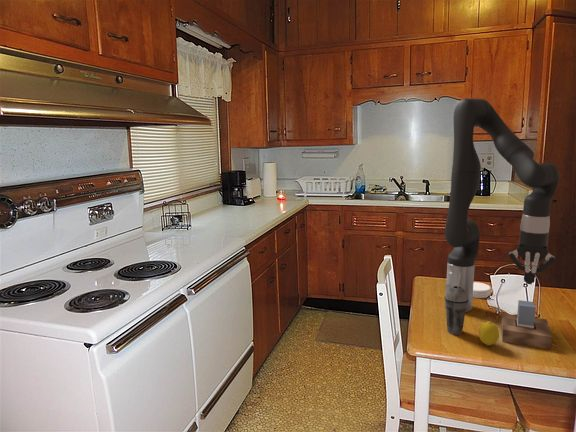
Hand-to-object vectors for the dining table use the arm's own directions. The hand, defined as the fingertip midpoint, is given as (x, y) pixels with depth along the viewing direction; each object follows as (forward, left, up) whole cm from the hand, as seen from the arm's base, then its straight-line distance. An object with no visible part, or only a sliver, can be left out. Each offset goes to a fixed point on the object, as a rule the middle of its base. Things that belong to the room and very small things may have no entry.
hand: (528, 283), depth 131 cm
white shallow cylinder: (-14, +33, -18) cm, 40 cm away
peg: (0, 0, -18) cm, 18 cm away
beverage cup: (-20, -5, -18) cm, 28 cm away
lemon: (-10, -11, -18) cm, 23 cm away
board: (0, 0, -18) cm, 18 cm away
